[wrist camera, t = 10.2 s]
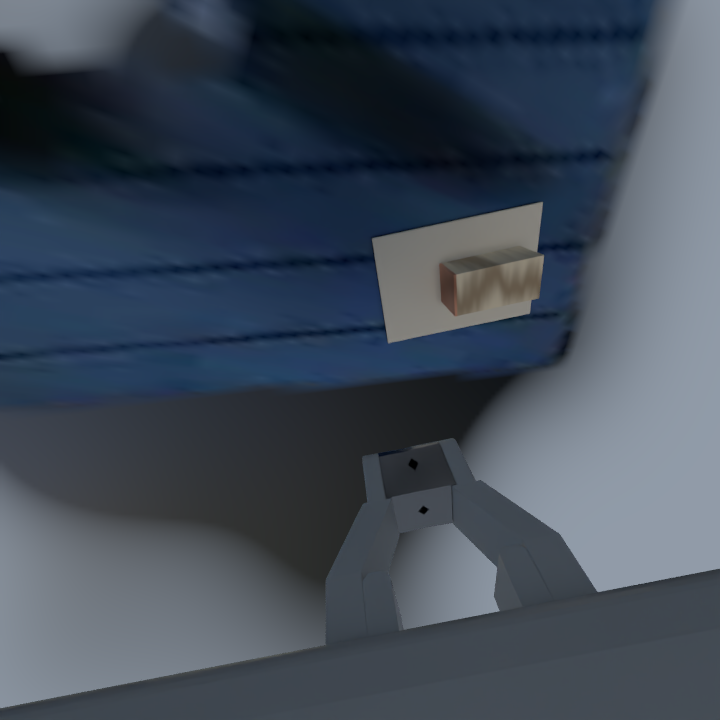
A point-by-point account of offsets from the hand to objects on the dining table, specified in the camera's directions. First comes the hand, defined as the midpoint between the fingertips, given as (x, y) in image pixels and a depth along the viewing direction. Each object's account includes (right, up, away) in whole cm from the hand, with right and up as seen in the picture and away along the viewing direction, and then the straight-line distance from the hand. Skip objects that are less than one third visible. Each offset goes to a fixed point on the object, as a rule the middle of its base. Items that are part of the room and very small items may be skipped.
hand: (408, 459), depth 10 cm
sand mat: (+11, +14, +29) cm, 34 cm away
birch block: (+9, +12, +27) cm, 31 cm away
